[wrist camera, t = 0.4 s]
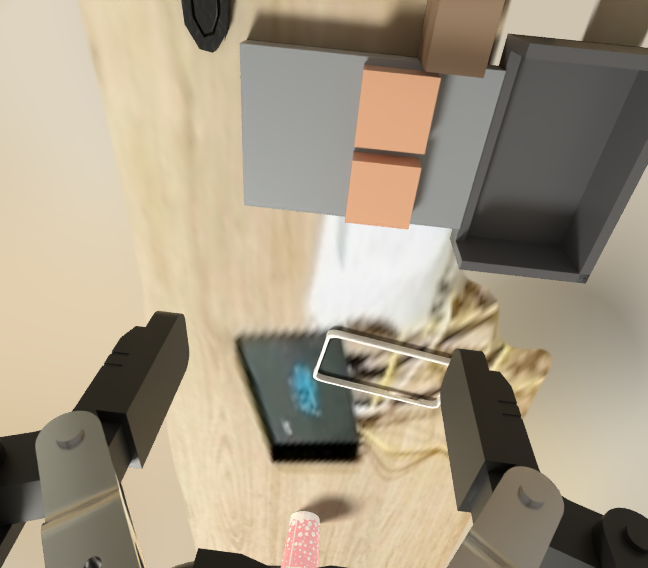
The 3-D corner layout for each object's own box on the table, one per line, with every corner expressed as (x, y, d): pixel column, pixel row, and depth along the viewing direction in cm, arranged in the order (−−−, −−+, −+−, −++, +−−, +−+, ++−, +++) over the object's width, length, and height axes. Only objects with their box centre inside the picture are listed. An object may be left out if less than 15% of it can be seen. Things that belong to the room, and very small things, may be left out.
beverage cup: (297, 530, 72) (283, 635, 61) (279, 511, 69) (261, 618, 58) (331, 525, 70) (323, 632, 59) (314, 505, 67) (303, 614, 56)
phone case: (462, 358, 48) (329, 324, 47) (464, 367, 47) (328, 333, 46) (435, 400, 52) (313, 370, 51) (437, 410, 51) (311, 379, 50)
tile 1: (363, 64, 30) (363, 69, 28) (437, 72, 30) (441, 77, 28) (354, 138, 33) (354, 146, 31) (421, 145, 33) (424, 154, 31)
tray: (507, 33, 30) (529, 43, 26) (656, 48, 30) (701, 60, 26) (450, 238, 39) (459, 269, 35) (562, 251, 39) (585, 283, 35)
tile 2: (353, 151, 34) (352, 160, 32) (419, 158, 33) (421, 168, 32) (345, 211, 36) (344, 222, 35) (406, 217, 36) (408, 229, 35)
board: (246, 39, 32) (239, 43, 30) (498, 65, 31) (505, 70, 30) (249, 195, 39) (244, 205, 37) (455, 218, 38) (459, 229, 37)
